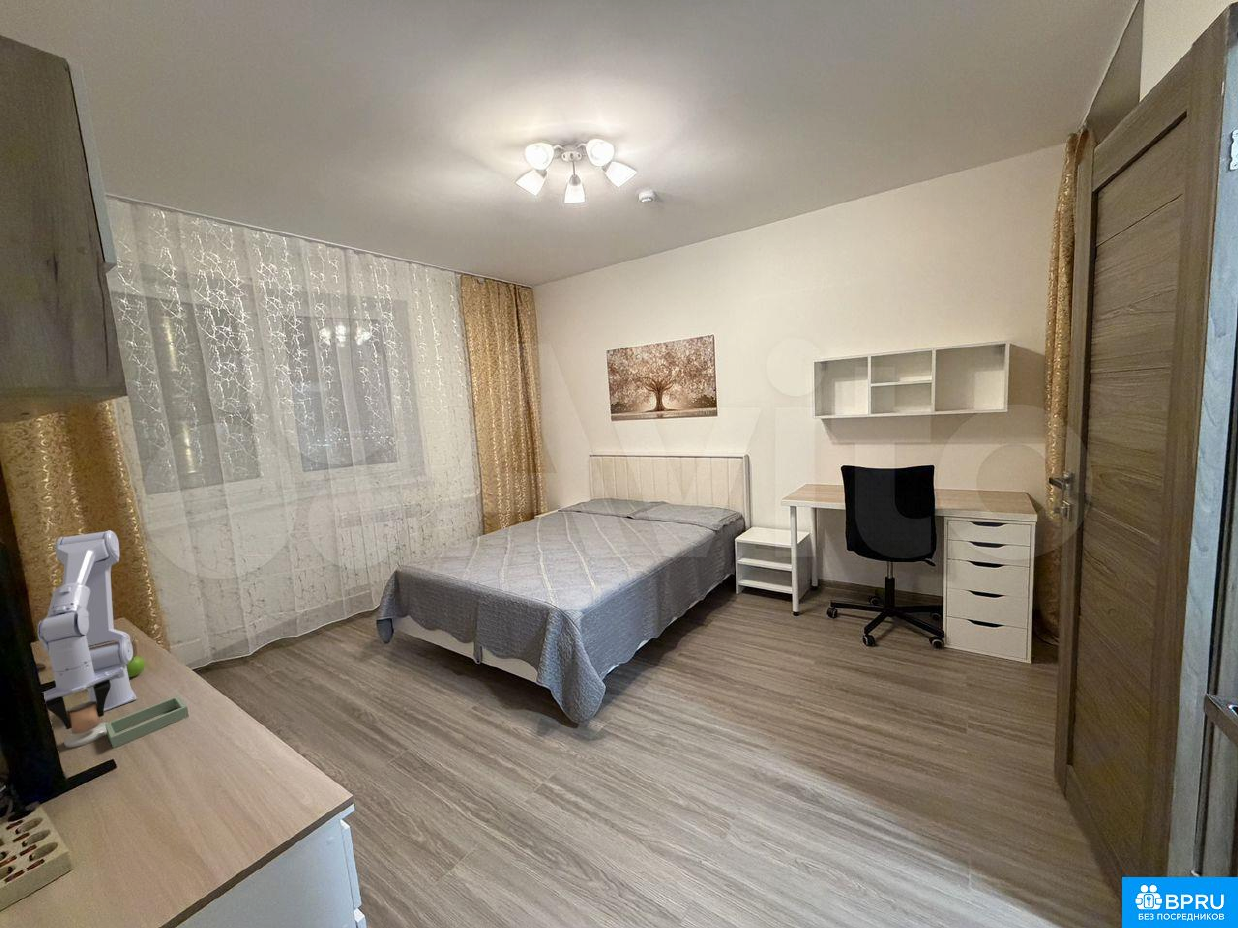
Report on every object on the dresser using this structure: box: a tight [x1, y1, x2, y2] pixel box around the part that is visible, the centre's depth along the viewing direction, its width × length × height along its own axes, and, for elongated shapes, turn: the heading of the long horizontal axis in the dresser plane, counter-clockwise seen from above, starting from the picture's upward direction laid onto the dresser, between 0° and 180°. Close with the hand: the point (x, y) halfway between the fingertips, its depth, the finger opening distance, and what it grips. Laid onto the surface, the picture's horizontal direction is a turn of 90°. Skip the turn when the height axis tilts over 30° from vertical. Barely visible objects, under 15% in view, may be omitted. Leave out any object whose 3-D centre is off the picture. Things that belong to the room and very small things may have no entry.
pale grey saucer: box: [63, 722, 108, 749], centre depth 109 cm, size 7×7×1 cm
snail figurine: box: [126, 635, 146, 678], centre depth 134 cm, size 5×6×12 cm
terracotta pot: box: [66, 700, 102, 734], centre depth 108 cm, size 4×4×5 cm
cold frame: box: [105, 695, 190, 749], centre depth 111 cm, size 9×13×2 cm
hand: (84, 720), depth 108 cm, fingers closed on terracotta pot, 4 cm apart
